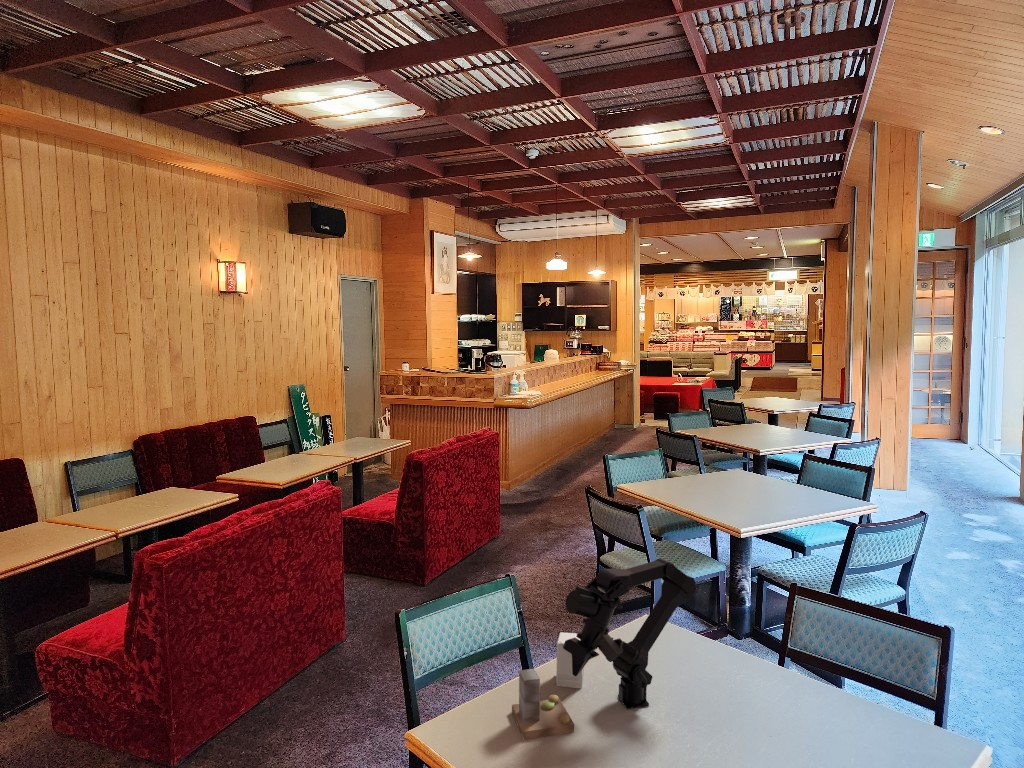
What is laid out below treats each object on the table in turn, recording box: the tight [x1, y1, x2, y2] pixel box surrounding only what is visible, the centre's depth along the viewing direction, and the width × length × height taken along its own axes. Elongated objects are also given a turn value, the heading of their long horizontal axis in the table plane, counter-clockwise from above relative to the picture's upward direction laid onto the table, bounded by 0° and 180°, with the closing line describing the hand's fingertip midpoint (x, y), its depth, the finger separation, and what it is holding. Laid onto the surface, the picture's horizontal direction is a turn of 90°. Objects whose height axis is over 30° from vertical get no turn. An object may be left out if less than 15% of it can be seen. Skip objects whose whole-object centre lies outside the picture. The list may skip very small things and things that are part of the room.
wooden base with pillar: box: [511, 668, 575, 740], centre depth 168 cm, size 13×12×13 cm
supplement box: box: [555, 631, 585, 689], centre depth 188 cm, size 7×7×13 cm
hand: (574, 675), depth 170 cm, fingers closed
